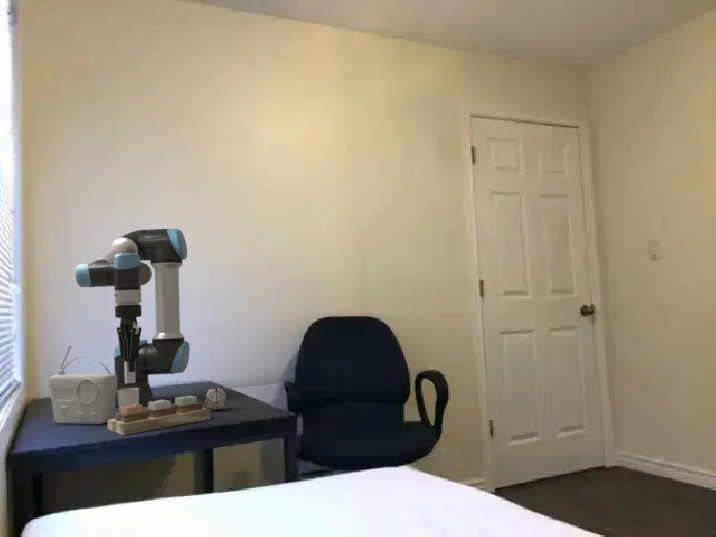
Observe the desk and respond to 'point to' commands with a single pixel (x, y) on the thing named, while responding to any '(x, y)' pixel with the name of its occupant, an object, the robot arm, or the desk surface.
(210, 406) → the game die
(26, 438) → the desk surface
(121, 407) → the button three dots
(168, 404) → the button two dots
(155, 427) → the button console
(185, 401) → the button one dot
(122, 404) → the drinking glass
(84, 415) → the radio
